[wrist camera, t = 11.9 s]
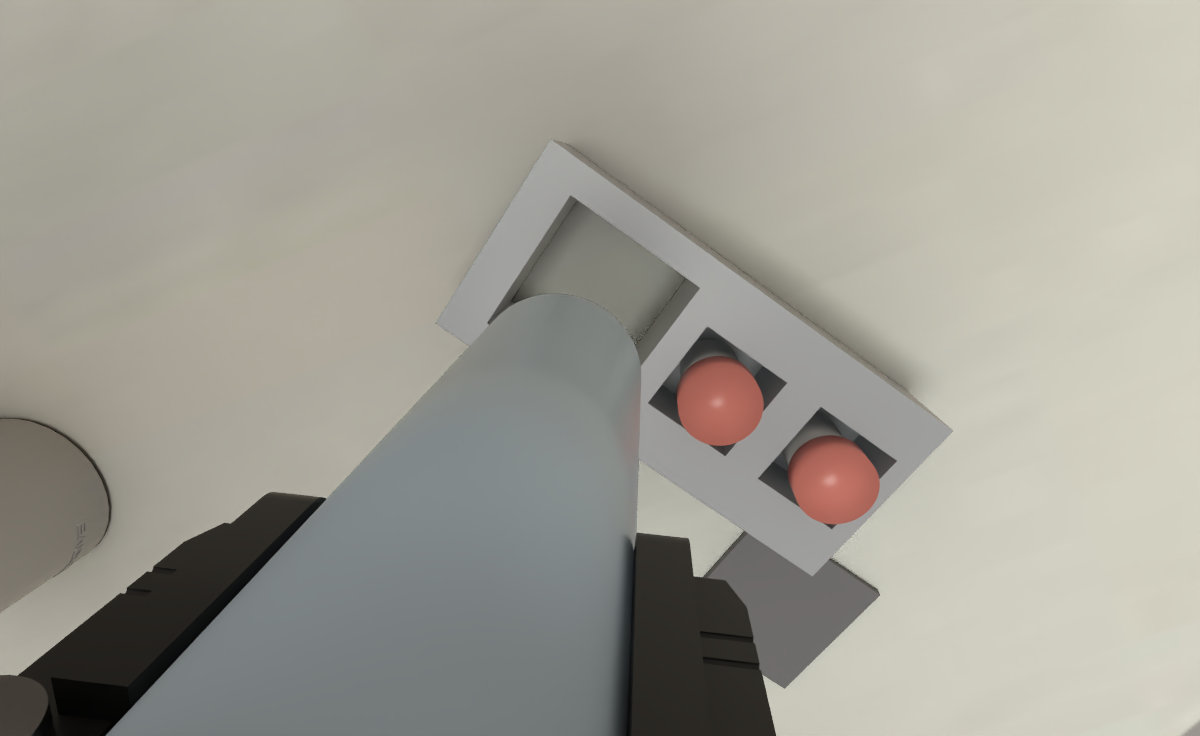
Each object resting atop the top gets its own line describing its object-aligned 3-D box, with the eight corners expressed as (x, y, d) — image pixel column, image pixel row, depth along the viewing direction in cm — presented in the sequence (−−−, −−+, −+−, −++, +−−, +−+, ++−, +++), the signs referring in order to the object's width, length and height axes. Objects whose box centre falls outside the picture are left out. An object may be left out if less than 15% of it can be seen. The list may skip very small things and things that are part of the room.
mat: (672, 611, 37) (672, 616, 36) (762, 511, 35) (763, 515, 34) (783, 683, 38) (784, 688, 37) (877, 590, 35) (880, 595, 35)
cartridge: (468, 278, 16) (-720, 1090, 2) (657, 294, 16) (726, 1311, 2) (467, 450, 18) (-235, 1593, 4) (640, 466, 18) (607, 1745, 3)
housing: (467, 300, 32) (435, 323, 28) (566, 143, 30) (550, 139, 25) (790, 520, 35) (812, 576, 30) (908, 391, 32) (953, 430, 27)
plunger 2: (756, 441, 32) (777, 495, 27) (802, 389, 31) (832, 434, 26) (810, 479, 33) (841, 538, 27) (856, 428, 32) (897, 480, 26)
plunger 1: (659, 374, 32) (661, 415, 26) (702, 318, 31) (712, 350, 25) (715, 413, 32) (728, 460, 27) (759, 359, 31) (781, 398, 26)
